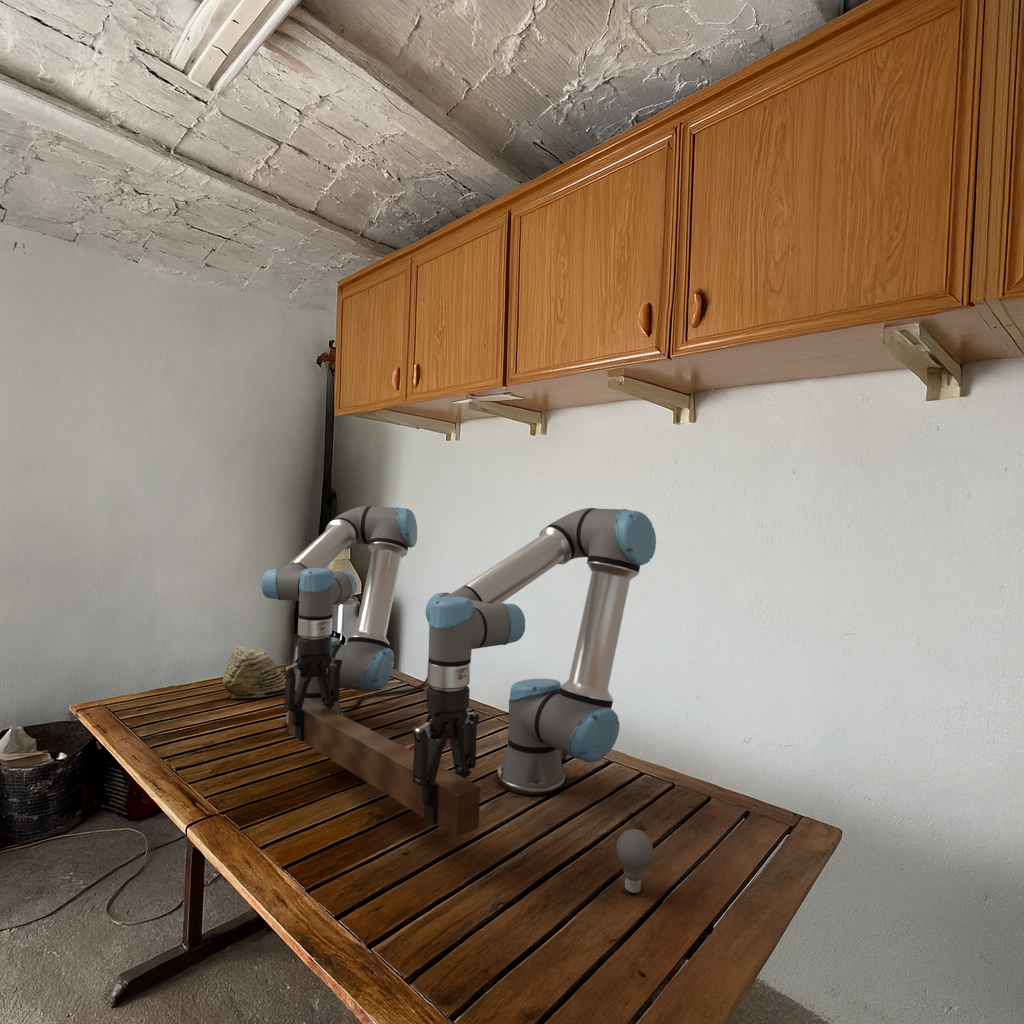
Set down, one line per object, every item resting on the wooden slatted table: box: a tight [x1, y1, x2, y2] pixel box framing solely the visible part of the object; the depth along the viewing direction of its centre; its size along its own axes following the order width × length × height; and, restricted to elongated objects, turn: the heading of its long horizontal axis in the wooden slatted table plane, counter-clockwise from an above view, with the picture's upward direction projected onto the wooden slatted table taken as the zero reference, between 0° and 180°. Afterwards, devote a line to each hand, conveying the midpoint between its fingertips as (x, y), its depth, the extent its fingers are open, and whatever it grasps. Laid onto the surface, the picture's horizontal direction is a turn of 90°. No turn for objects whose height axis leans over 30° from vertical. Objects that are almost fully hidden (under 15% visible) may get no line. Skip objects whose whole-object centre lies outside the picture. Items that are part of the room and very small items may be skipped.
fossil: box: [222, 646, 286, 699], centre depth 198 cm, size 9×18×15 cm, turn 132°
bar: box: [287, 698, 481, 838], centre depth 129 cm, size 61×5×7 cm, turn 46°
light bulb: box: [615, 828, 654, 894], centre depth 106 cm, size 6×6×10 cm
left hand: (311, 735), depth 146 cm, fingers closed on bar, 5 cm apart
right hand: (443, 815), depth 112 cm, fingers closed on bar, 5 cm apart
